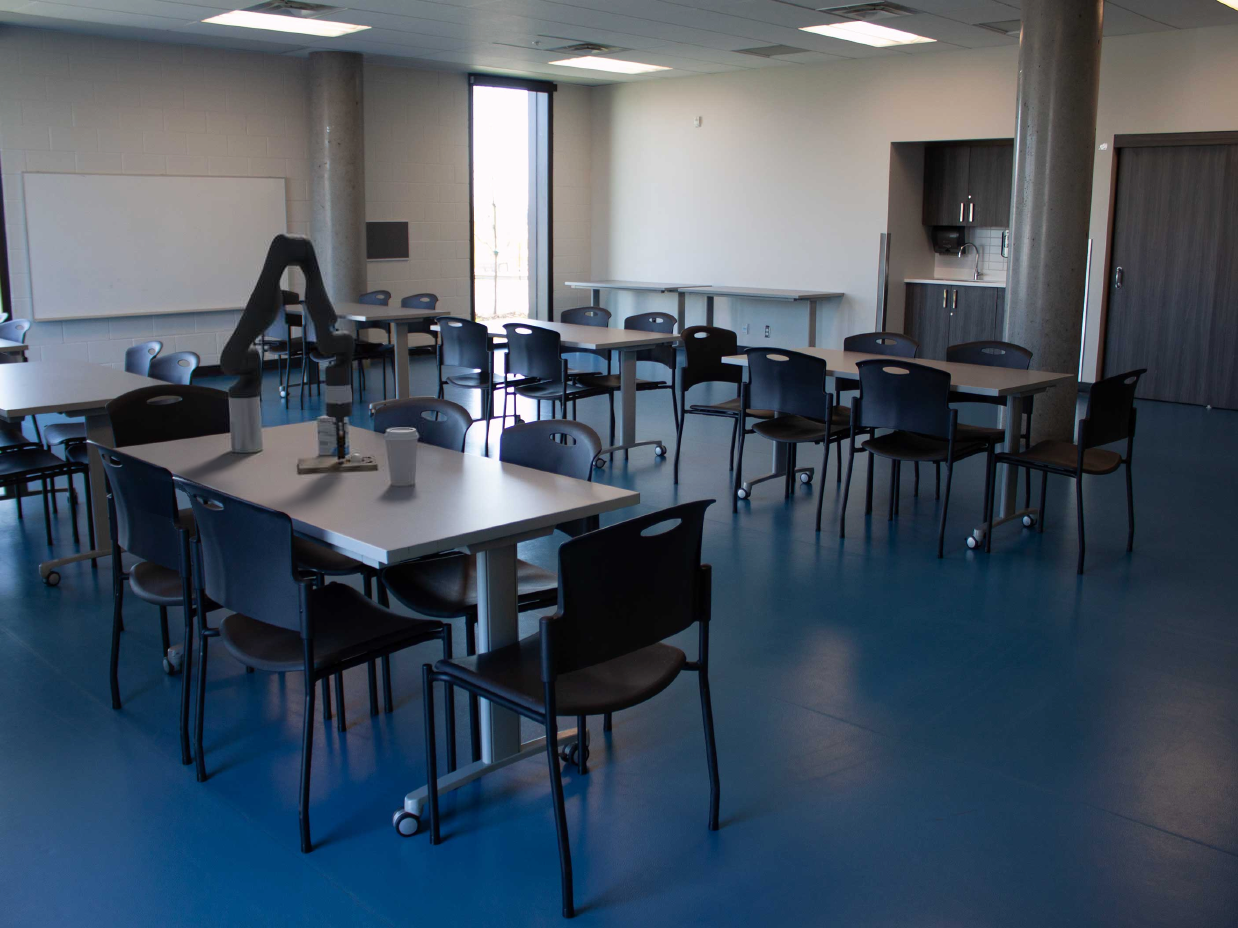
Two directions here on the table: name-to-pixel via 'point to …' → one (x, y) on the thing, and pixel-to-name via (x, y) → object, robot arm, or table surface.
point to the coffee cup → (402, 455)
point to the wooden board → (336, 464)
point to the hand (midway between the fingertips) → (341, 458)
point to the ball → (356, 458)
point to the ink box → (329, 436)
